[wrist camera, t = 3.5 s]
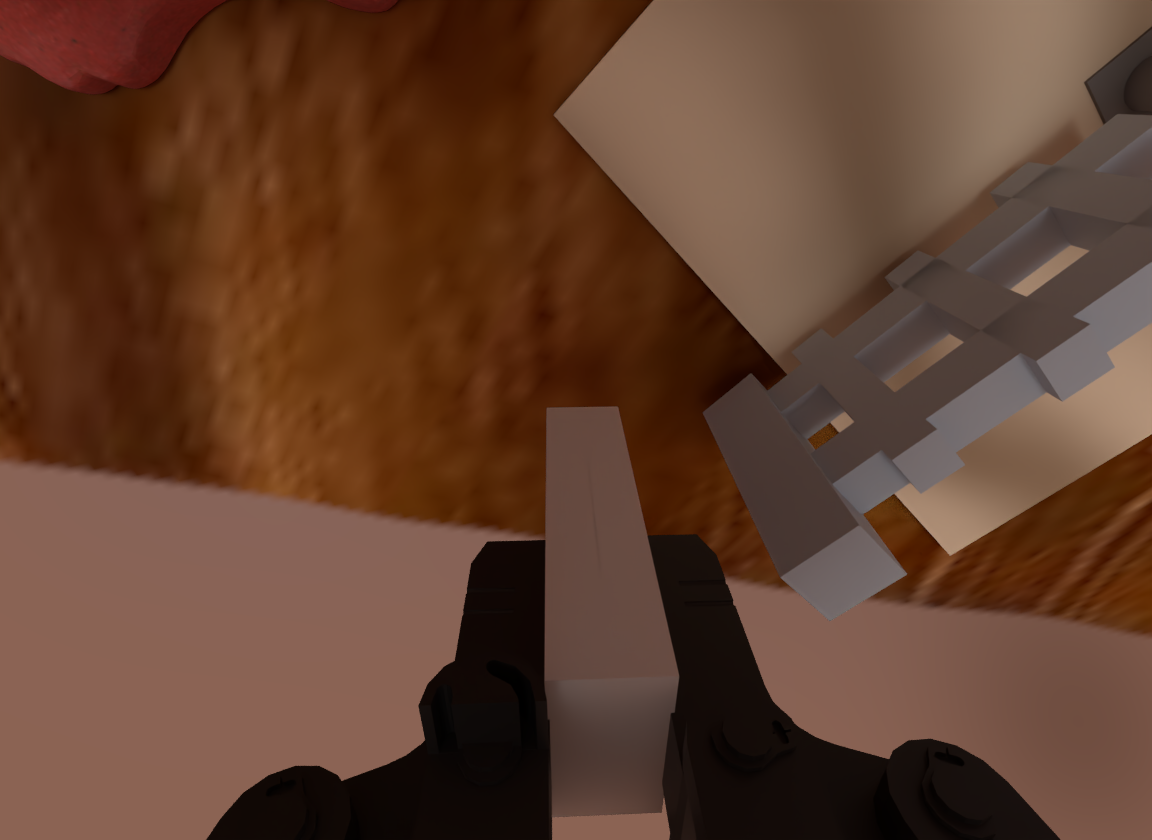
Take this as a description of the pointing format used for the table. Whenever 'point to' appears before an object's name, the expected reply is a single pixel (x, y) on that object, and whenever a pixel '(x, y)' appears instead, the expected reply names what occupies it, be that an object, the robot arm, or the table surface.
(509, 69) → the table surface
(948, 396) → the gray castle wall
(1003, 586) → the table surface
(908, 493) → the board
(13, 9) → the stacking bear
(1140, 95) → the fixed fence panel
